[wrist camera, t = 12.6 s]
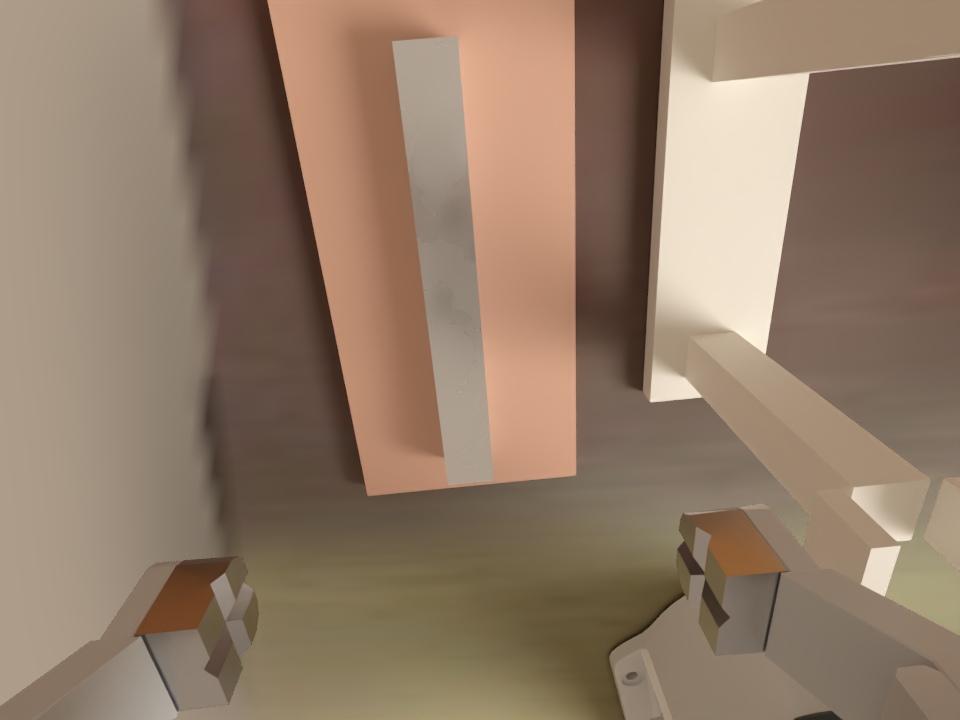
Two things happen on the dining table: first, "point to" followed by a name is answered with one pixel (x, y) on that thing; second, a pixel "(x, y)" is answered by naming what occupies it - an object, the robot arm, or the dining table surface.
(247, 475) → the dining table surface
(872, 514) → the cradle stand
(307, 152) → the terracotta board
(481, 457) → the aluminium rail
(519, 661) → the dining table surface
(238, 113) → the dining table surface
